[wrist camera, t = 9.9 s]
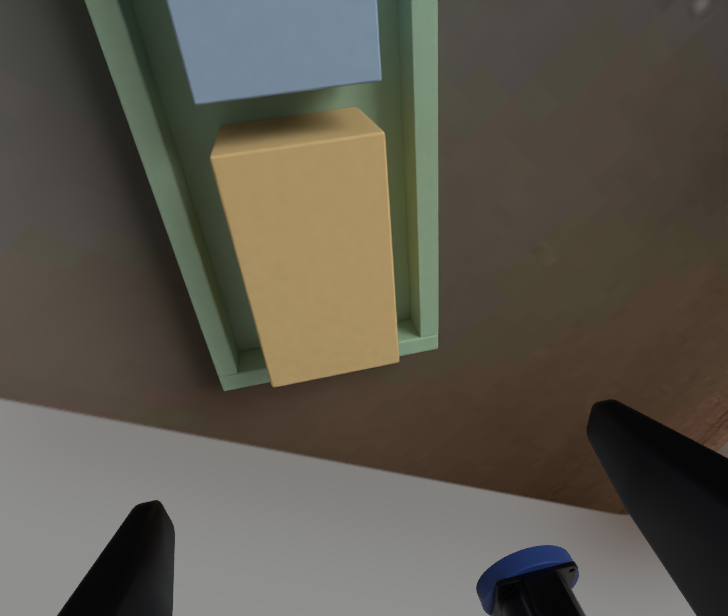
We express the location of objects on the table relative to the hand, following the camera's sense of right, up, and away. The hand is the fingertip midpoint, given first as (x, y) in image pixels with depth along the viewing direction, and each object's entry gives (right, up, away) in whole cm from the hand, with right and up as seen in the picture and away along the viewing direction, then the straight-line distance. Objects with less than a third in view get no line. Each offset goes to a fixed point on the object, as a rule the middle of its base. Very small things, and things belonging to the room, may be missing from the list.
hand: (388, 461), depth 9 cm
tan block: (-3, +6, +8) cm, 10 cm away
